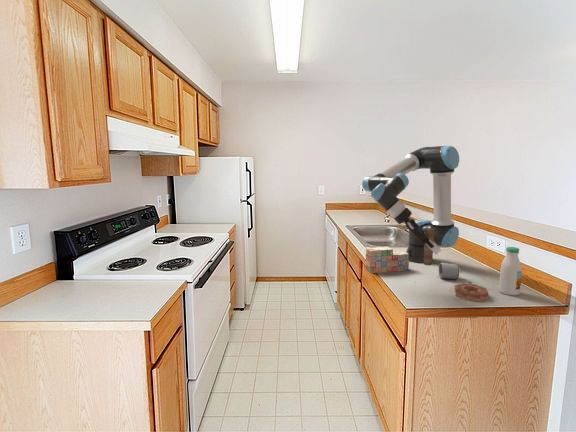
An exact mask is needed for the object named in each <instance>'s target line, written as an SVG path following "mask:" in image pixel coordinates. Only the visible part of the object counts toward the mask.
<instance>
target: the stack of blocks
mask: <svg viewBox="0 0 576 432" xmlns="http://www.w3.org/2000/svg"><path fill="white" fill-rule="evenodd" d="M365 252H366V253H365V270H366V271H367V272H368V273H369V274H378V273H379V274H380V273H381V272H383V273H392V272H393V273H396V272H407V271H410V270H409V269H410V268H409V266H410V261H409V254H408V253H406V251H403V250H401V251H394V249H393V248H391V247H389V246H378V247H366V249H365ZM395 271H396V272H395Z"/></svg>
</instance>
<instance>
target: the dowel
mask: <svg viewBox="0 0 576 432" xmlns="http://www.w3.org/2000/svg"><path fill="white" fill-rule="evenodd" d="M425 236H426V237H427V238H429V240H431V241H432V242H433V240H434V229H433V228H425ZM433 256H434V252H433V251H432V250H431V249H430V248H429V247H428V246H427V245H426V244H424V263H423V265H424V266H433V260H432V259H433Z"/></svg>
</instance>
